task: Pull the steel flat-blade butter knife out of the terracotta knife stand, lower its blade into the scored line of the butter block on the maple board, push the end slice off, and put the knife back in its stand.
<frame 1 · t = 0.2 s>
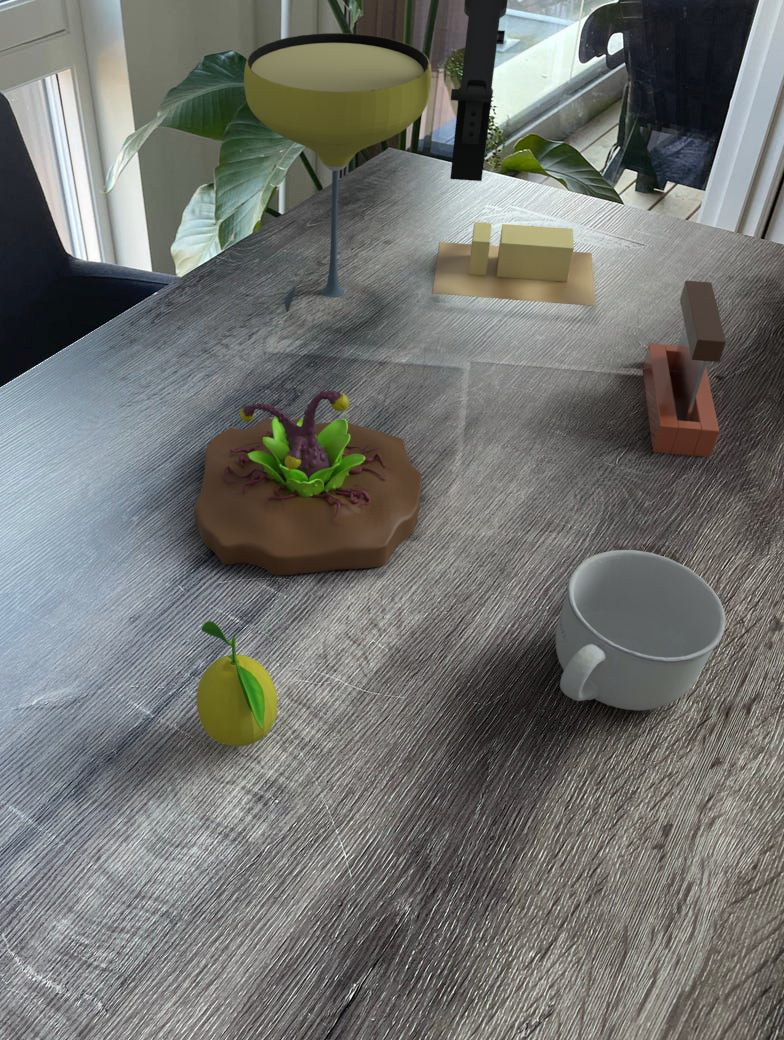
hand: (469, 149, 95), 21 cm above the table, tool pointing down, fingers open, 13 cm apart
lemon: (237, 737, 73), on the table
plant: (309, 504, 92), on the table
board: (512, 284, 120), on the table
butter slice: (477, 265, 120), point 1 cm above the table, touching board
teacup: (605, 687, 77), on the table
knife stand: (672, 416, 101), on the table
knife: (674, 409, 100), point 1 cm above the table, touching knife stand
butter: (531, 269, 119), point 1 cm above the table, touching board
cocktail glass: (332, 305, 117), on the table
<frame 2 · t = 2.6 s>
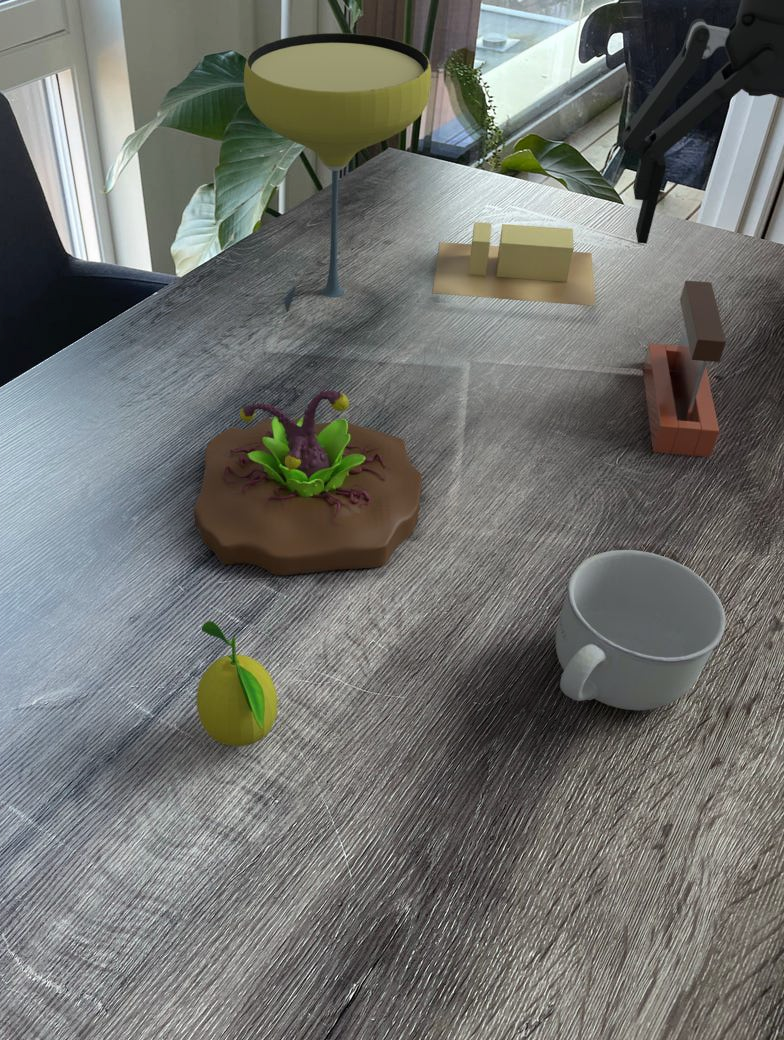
hand: (721, 243, 89), 17 cm above the table, tool pointing down, fingers open, 13 cm apart
nothing on the table moved.
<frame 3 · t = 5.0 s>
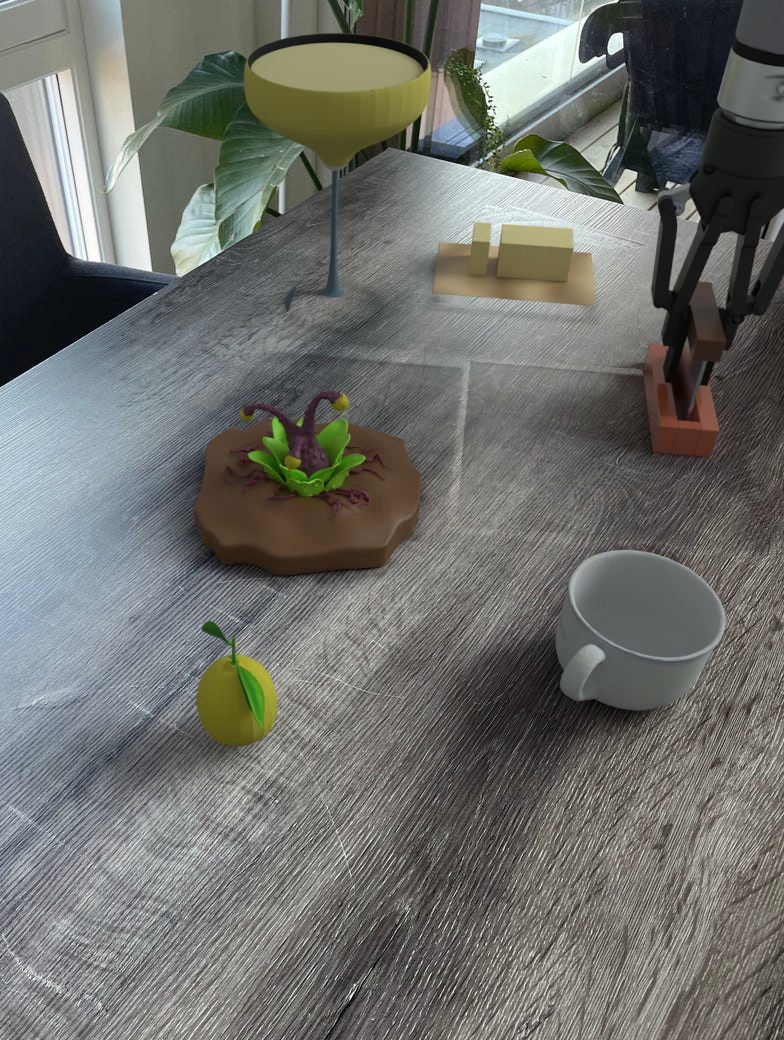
hand: (684, 376, 98), 5 cm above the table, tool pointing down, fingers closed on knife, 2 cm apart
knife: (674, 409, 100), point 1 cm above the table, touching gripper, knife stand
everything else where it was.
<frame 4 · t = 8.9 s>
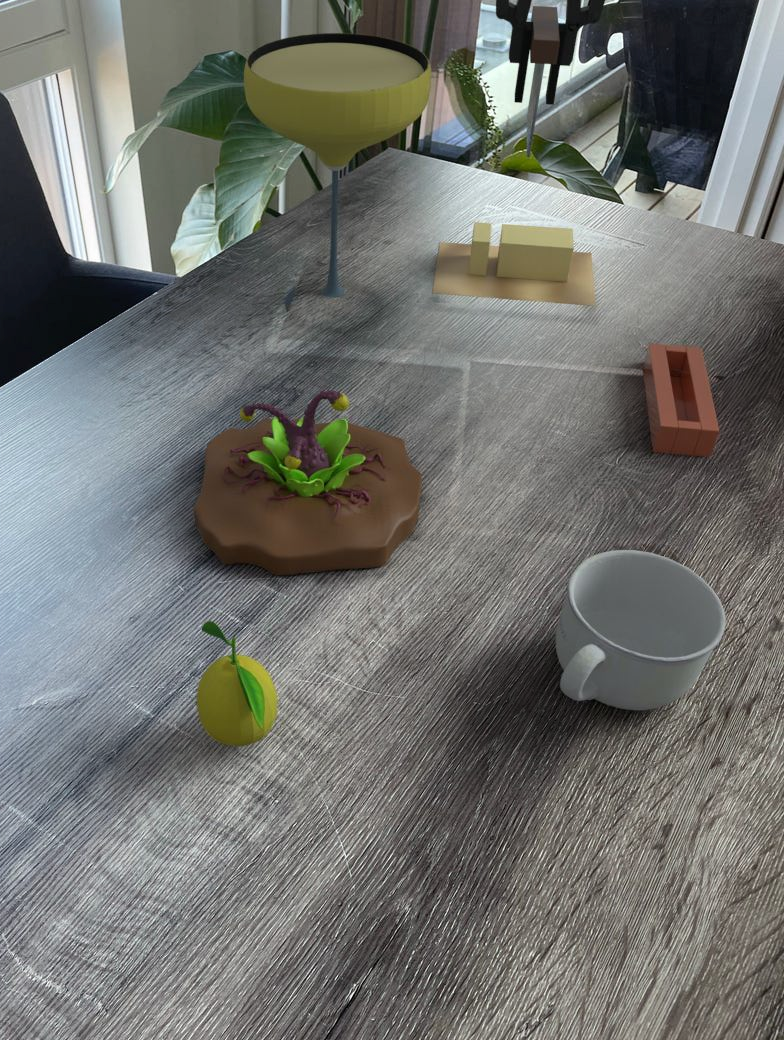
hand: (534, 98, 104), 21 cm above the table, tool pointing down, fingers closed on knife, 2 cm apart
knife: (528, 137, 107), point 17 cm above the table, touching gripper
everything else where it was.
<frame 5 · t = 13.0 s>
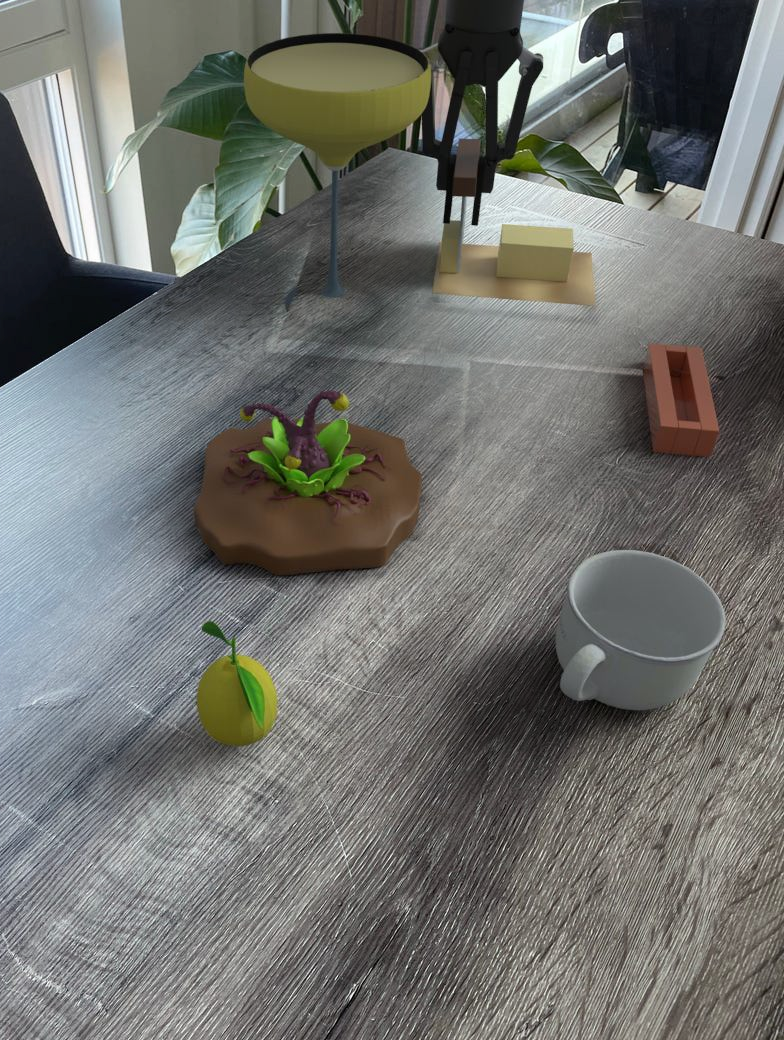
hand: (460, 219, 117), 7 cm above the table, tool pointing down, fingers closed on knife, 2 cm apart
butter slice: (449, 263, 120), point 2 cm above the table, touching board, knife
knife: (460, 251, 119), point 3 cm above the table, touching butter slice, gripper
everything else where it was.
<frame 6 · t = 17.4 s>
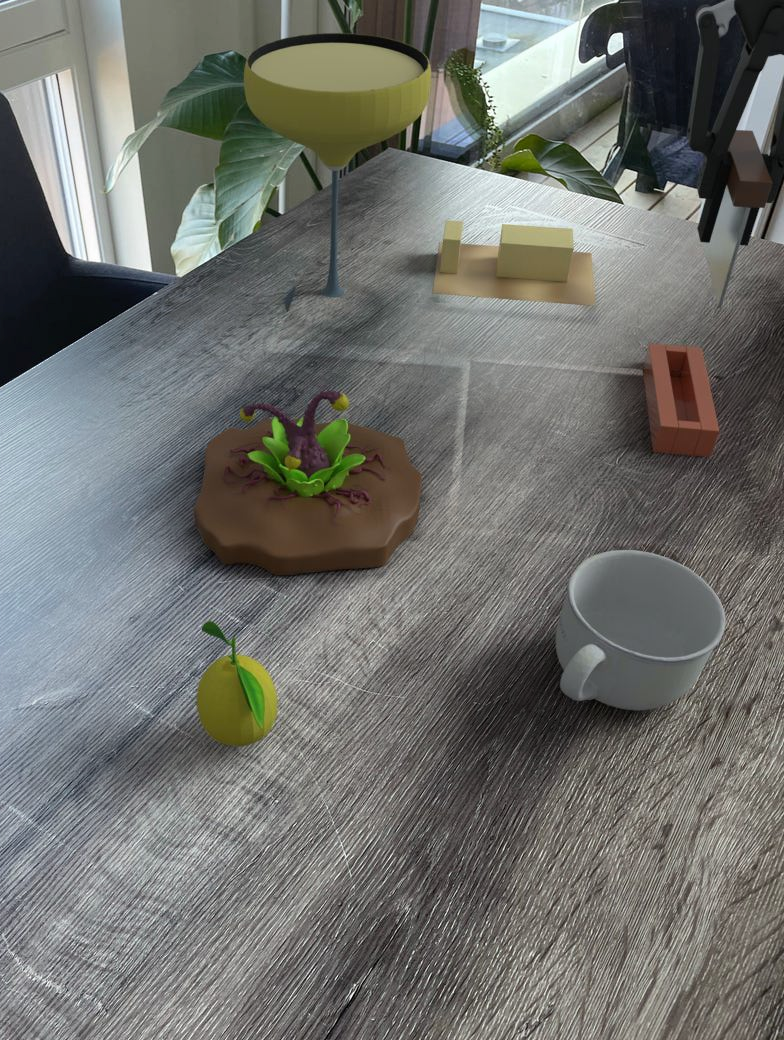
hand: (722, 236, 88), 18 cm above the table, tool pointing down, fingers closed on knife, 2 cm apart
butter slice: (449, 263, 120), point 1 cm above the table, touching board
knife: (712, 278, 91), point 14 cm above the table, touching gripper
everything else where it was.
when the fingers open (4 cm above the table, at t = 20.6 s): knife stays where it is, resting on knife stand.
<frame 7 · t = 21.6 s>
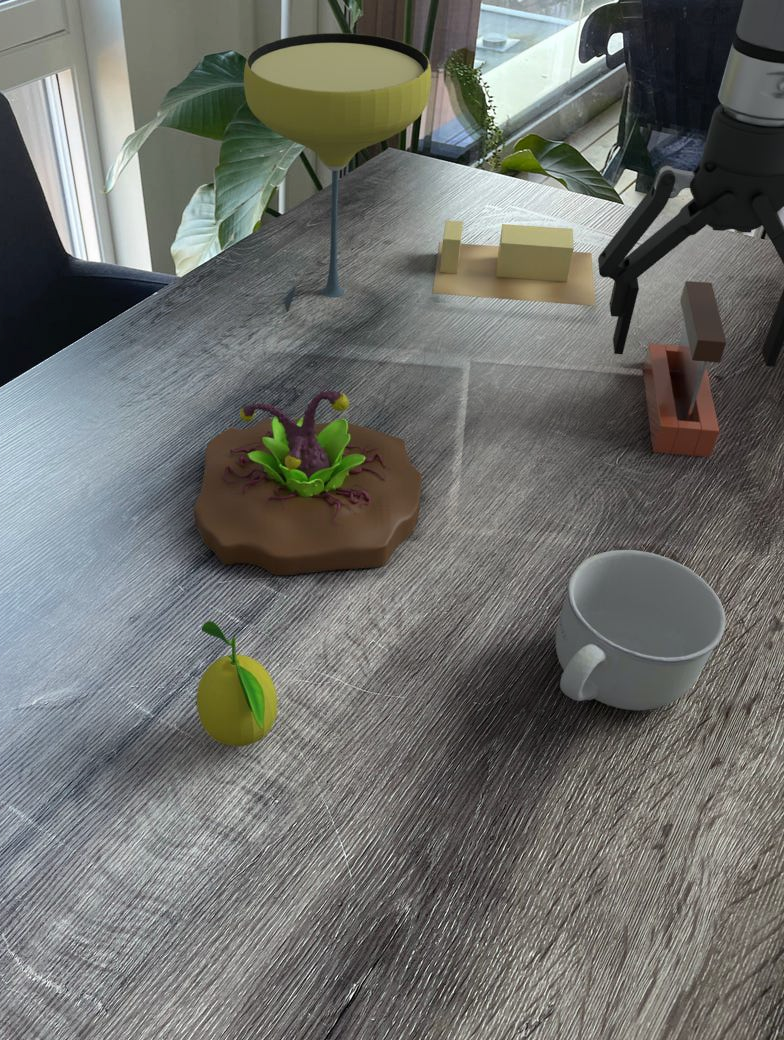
hand: (692, 353, 96), 7 cm above the table, tool pointing down, fingers open, 13 cm apart
knife: (675, 410, 100), point 1 cm above the table, touching knife stand
everything else where it was.
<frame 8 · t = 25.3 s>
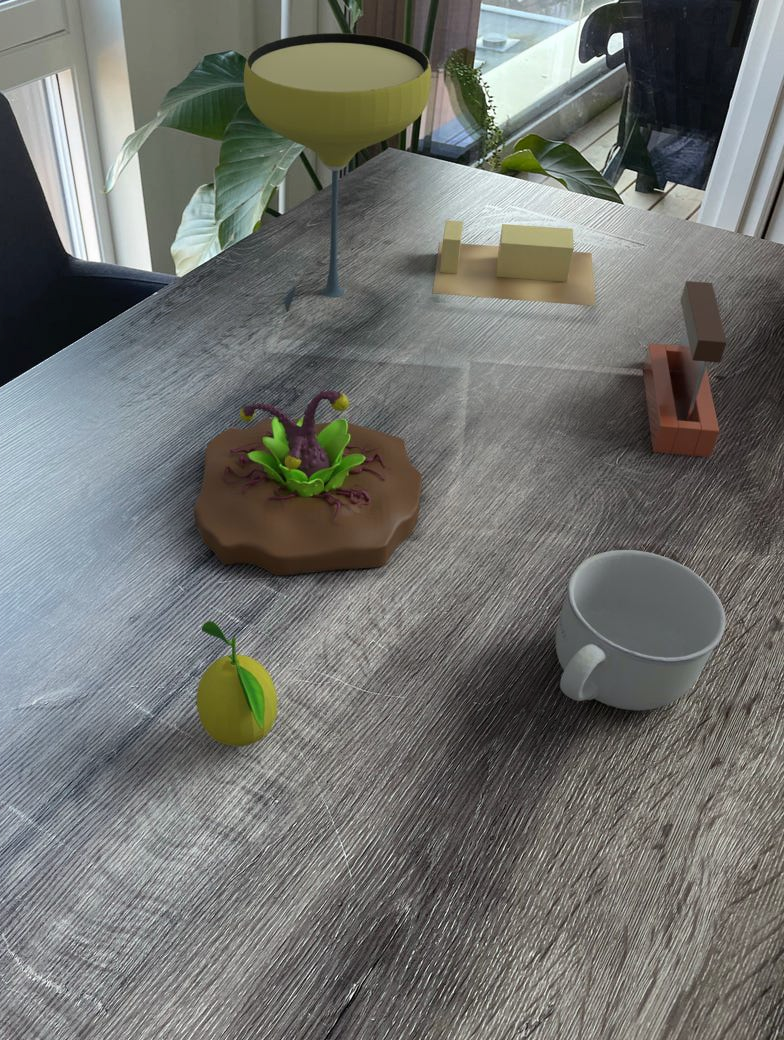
nothing on the table moved.
at the end: butter slice moved 3.3 cm from its start; butter moved 0.0 cm from its start; knife 0.1 cm off-centre on the knife stand, point 0.8 cm above the knife stand's base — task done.
